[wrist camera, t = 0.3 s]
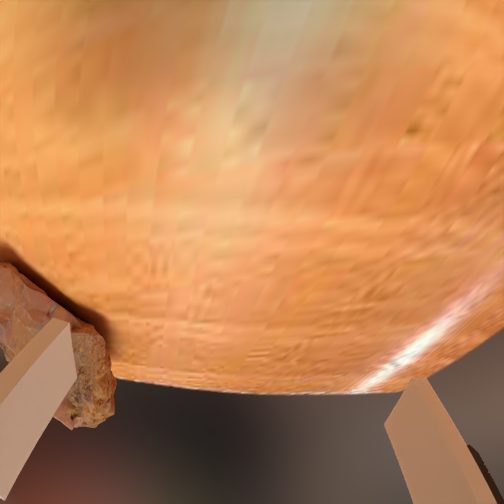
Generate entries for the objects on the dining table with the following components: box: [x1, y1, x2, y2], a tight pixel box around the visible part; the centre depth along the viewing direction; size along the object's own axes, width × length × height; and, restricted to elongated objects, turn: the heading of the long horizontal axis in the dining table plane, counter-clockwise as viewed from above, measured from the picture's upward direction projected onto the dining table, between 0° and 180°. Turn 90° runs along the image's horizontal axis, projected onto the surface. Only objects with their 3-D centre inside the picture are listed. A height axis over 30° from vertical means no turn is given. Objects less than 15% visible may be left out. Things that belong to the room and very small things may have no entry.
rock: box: [0, 262, 117, 430], centre depth 39 cm, size 29×18×15 cm, turn 23°
